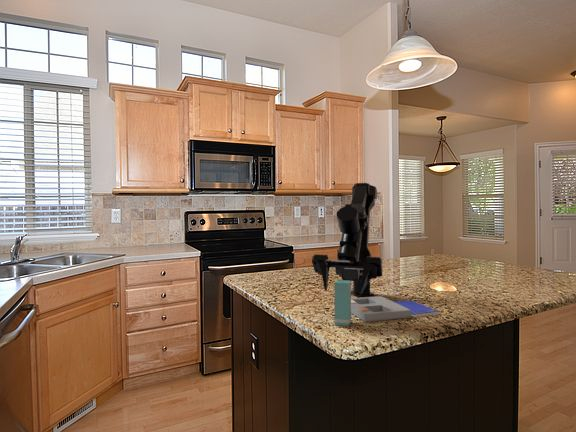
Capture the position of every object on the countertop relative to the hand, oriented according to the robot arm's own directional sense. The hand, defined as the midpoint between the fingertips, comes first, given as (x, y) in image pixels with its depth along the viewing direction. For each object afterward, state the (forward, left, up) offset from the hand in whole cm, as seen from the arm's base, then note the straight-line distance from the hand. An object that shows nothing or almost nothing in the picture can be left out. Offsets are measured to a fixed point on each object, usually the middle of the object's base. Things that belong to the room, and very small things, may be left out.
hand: (342, 291), depth 94 cm
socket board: (-8, +13, -8) cm, 17 cm away
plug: (0, 0, -8) cm, 8 cm away
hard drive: (-6, +25, -9) cm, 28 cm away
